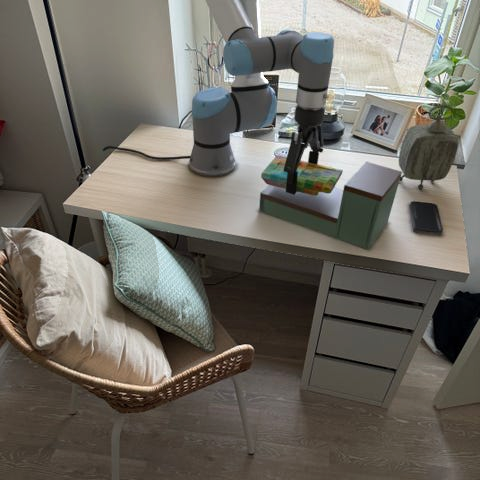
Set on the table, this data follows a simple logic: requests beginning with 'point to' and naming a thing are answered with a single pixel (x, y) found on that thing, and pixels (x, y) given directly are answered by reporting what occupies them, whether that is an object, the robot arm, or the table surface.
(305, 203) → the step shelf
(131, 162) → the table surface
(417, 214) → the phone
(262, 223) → the table surface
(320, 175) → the puzzle game
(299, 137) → the robot arm
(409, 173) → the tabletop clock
